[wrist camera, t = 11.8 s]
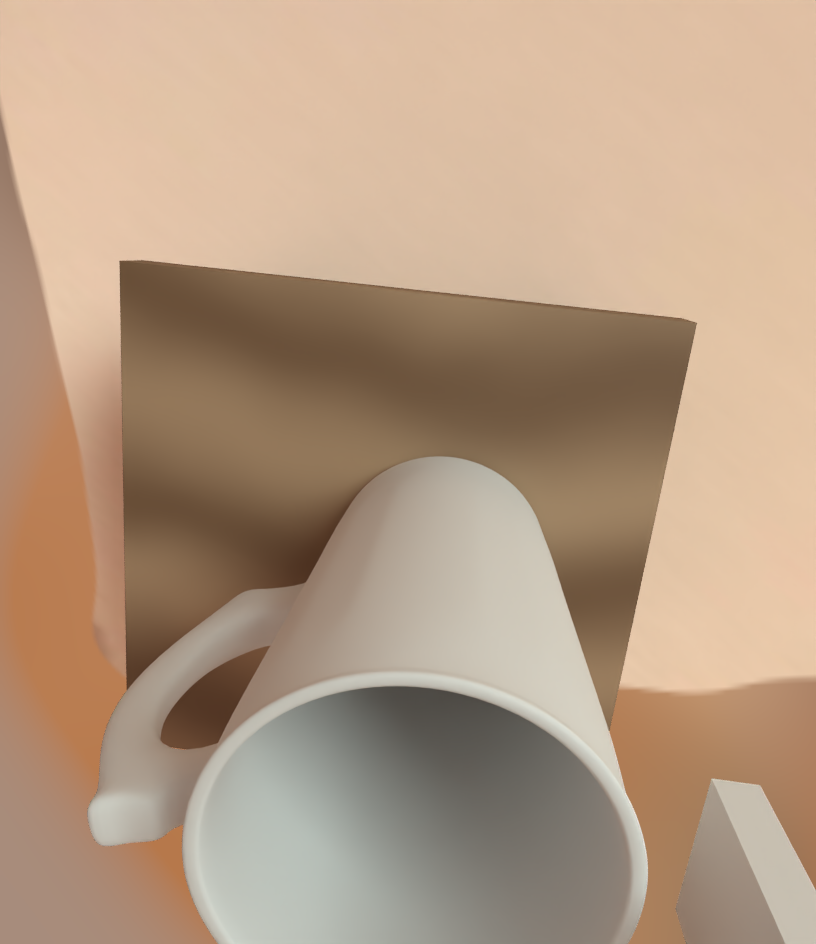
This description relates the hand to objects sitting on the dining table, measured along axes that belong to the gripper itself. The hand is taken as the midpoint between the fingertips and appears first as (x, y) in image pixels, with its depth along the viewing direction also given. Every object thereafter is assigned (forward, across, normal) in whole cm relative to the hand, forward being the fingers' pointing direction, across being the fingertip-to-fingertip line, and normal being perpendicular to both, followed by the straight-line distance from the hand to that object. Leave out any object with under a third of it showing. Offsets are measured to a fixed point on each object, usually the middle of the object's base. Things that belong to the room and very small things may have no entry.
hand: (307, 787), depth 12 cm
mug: (+11, 0, 0) cm, 11 cm away
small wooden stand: (+21, 0, -1) cm, 21 cm away
